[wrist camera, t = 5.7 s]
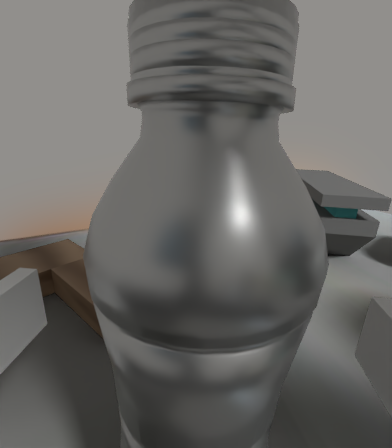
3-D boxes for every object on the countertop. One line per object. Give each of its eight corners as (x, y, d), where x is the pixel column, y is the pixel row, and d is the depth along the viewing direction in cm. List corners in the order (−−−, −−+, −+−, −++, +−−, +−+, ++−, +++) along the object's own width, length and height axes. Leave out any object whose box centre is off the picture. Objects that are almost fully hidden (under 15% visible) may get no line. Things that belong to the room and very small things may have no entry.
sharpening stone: (369, 277, 35) (391, 198, 32) (308, 271, 36) (323, 194, 33) (318, 220, 59) (327, 170, 55) (281, 217, 60) (289, 169, 56)
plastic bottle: (121, 460, 15) (82, 50, 8) (236, 439, 16) (282, 67, 9) (106, 683, 9) (-87, -164, 2) (289, 622, 10) (518, -43, 3)
